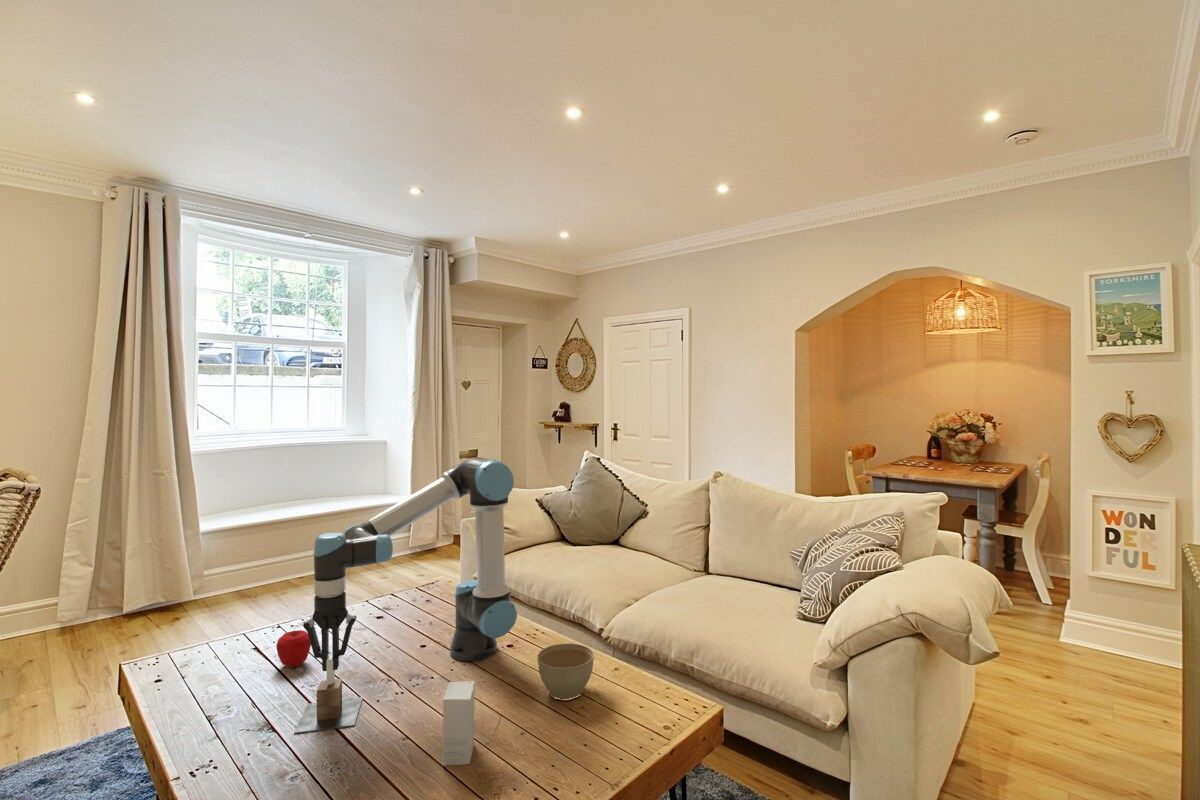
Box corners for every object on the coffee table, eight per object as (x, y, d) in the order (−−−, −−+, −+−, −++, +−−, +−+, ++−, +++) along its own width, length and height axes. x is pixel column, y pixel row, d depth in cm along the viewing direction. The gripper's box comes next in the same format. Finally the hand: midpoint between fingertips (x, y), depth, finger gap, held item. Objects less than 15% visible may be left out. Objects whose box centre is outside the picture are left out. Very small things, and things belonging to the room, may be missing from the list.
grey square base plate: (362, 698, 161) (362, 675, 161) (354, 726, 147) (354, 701, 147) (308, 705, 157) (307, 681, 157) (294, 734, 144) (294, 708, 144)
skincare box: (448, 745, 139) (448, 680, 139) (476, 743, 140) (475, 679, 140) (441, 767, 131) (441, 699, 131) (471, 765, 132) (471, 697, 131)
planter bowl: (603, 685, 168) (603, 648, 168) (578, 713, 153) (578, 672, 153) (555, 674, 175) (555, 638, 175) (526, 700, 160) (526, 661, 160)
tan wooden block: (342, 707, 155) (342, 678, 155) (338, 717, 150) (338, 688, 150) (321, 710, 154) (321, 681, 154) (316, 720, 149) (316, 690, 149)
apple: (269, 669, 178) (269, 634, 178) (296, 656, 187) (295, 622, 187) (292, 675, 174) (292, 639, 174) (318, 661, 183) (318, 627, 183)
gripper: (358, 586, 157) (359, 672, 158) (306, 590, 154) (307, 678, 154) (354, 595, 150) (354, 685, 150) (299, 600, 147) (300, 692, 147)
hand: (330, 681), depth 152 cm, fingers closed
